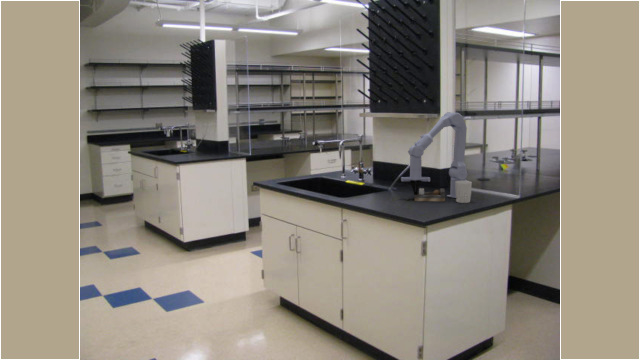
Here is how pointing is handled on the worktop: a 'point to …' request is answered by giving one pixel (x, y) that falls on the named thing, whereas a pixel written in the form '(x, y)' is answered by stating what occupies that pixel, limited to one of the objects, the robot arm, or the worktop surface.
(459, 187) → the white cup
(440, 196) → the wooden shadow box
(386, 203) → the worktop surface
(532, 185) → the worktop surface
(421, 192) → the grey rectangular block
